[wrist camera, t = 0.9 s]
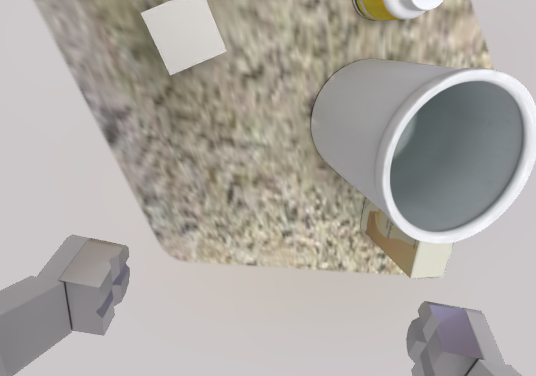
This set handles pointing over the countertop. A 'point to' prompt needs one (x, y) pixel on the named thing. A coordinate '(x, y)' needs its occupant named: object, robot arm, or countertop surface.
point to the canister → (184, 33)
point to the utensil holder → (428, 142)
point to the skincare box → (405, 246)
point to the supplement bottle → (394, 8)
